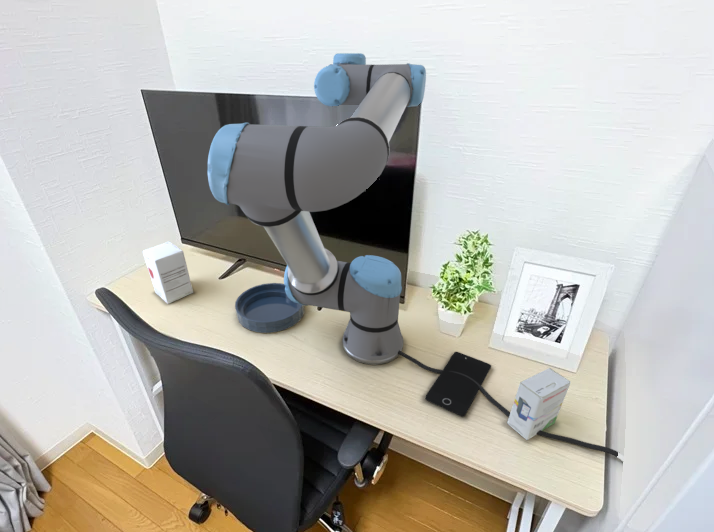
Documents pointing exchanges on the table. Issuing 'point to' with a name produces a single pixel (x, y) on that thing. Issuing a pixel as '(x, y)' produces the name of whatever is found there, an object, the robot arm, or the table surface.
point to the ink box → (538, 402)
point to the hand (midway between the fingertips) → (344, 211)
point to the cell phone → (458, 383)
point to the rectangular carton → (168, 271)
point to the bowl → (267, 308)
